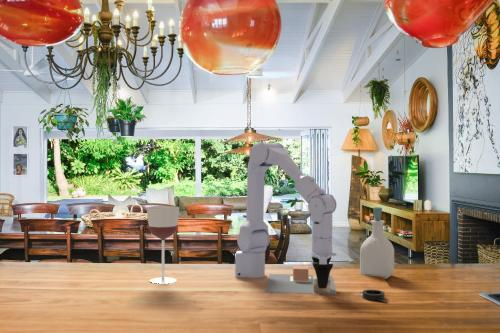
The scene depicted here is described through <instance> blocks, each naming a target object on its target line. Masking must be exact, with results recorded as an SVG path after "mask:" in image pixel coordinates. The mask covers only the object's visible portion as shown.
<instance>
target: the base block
mask: <svg viewBox="0 0 500 333" xmlns="http://www.w3.org/2000/svg"><path fill="white" fill-rule="evenodd" d="M292 270H293V271H292V272H293V273H292V275H293V280H294V281H308V275H309V265H293V267H292Z"/></svg>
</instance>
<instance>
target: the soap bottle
mask: <svg viewBox="0 0 500 333" xmlns="http://www.w3.org/2000/svg"><path fill="white" fill-rule="evenodd" d="M372 209H373V219H371V220H370V221H369V223H371V225H372V228H371V230H372V231H371V234H370V236H368V237H367V238H365V240H364V241H362V244H361V246H360V250H359V273H360V275H361V276H373V277H382V278H383V279H384V280H387V279H389V278H390V277H392V275H393V274H394V272H395V247H394V245H393V244H392V242H391V241H390V240H389V239H388V238H387V237H386V236H385V235H384V232H383V227H384V226H383V225H384V224H385V222H386V221H385V220H381V219H382V213H383V208H382V207H380V206H379V207H378V206H375V207H373V208H372Z"/></svg>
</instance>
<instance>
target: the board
mask: <svg viewBox="0 0 500 333" xmlns="http://www.w3.org/2000/svg"><path fill="white" fill-rule="evenodd" d="M313 275H314V274H308V281H294V280H293V274H288V273H287V274H286V273H284V274H282V273H269V274H268V279H267V282H266V286H265V289H264V293H278V294H279V293H282V294H284V293H287V294H315V295H317V294H319V295H337V294H338V293H337V290H336V285H335V282H334V281H335V280H334V279H333V278H334V277H333V275H329V276H330V292H314V289H313Z"/></svg>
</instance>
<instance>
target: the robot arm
mask: <svg viewBox="0 0 500 333" xmlns="http://www.w3.org/2000/svg"><path fill="white" fill-rule="evenodd" d="M273 166H278V167H279V168H280V169H281V170H282V171H283V172H284V173H285V174H286V175H287V176H288V177H289V178H290V179H291V180H292V181H293V182H294V189H295V190H296V191H297V193H299V195H300V197H302V199H303V200H304V201H305V203H307V210H308V212H309V213H310V217H311V218H310V219H311V252H310V253H311V259H312V263H311V264H312V267H313V270H314V271H315V275H317V282H318V287H319V288H326V287H327V283H328V278H329V276H330V273H331V271H332V269H333V267H334V264H333V263H330V262H331V260H332V257H334V256H337V252H336V251H333V213H334V212H335V211H336V209H337V201H336V199H335V197H334V195H332V193H331V194H330V193H326V191H325V189H323V188H321V187H320V185H318V183H317V182H316V179H315V178H314V176H311V175H309V174H307V175H305V174H304V173H303V172H302V170H300V168H299V167H298V165H297V164H296V162H295V161H294V160H293V159H292V157H291V156H290V155H289V151H288V149H286V148H285V146H284V145H283V144H282V143H279V142H259V141H258V142H256V143H255V144H253V145H252V147H251V148H249V160H248V163H247V172H246V174H247V175H246V176H247V179H246V181H247V182H246V213H245V214H246V218H245V221H244V222H243V223H242V224H241V225H240V227H239V233H238V235H237V241H236V242H237V246H238V248H239V250H236V252H235V260H234V261H235V267H234V268H235V269H234V274H235V275H234V276H235V277H236V278H252V279H256V278H257V279H258V278H262V277H265V274H266V273H265V272H266V271H265V270H266V268H265V267H266V266H265V265H266V260H265V259H266V251H267V247H268V246H269V245H270V242H271V236H270V234H269V233H270V232H269V226H268V224H267V223H266V222H265V221H264V215H265V214H264V212H265V211H264V209H265V173H266V172H267V171H268V170H269V169H270V168H271V167H273Z"/></svg>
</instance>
